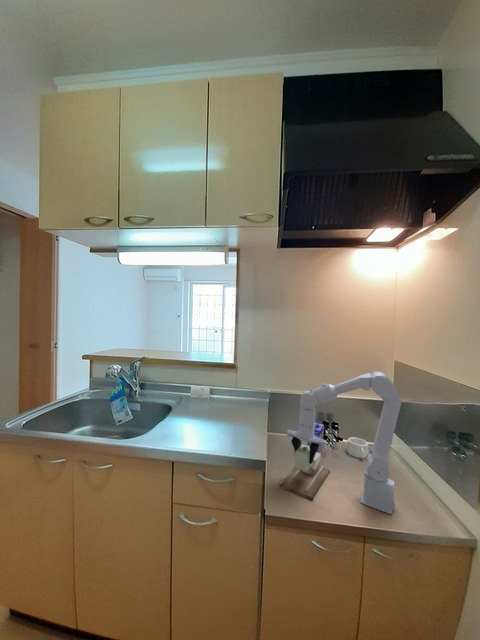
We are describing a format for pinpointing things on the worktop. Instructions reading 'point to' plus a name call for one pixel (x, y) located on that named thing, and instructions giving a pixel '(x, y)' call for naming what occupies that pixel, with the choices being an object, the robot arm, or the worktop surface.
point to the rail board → (306, 479)
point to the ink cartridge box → (318, 434)
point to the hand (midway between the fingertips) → (304, 460)
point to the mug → (357, 447)
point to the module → (303, 458)
